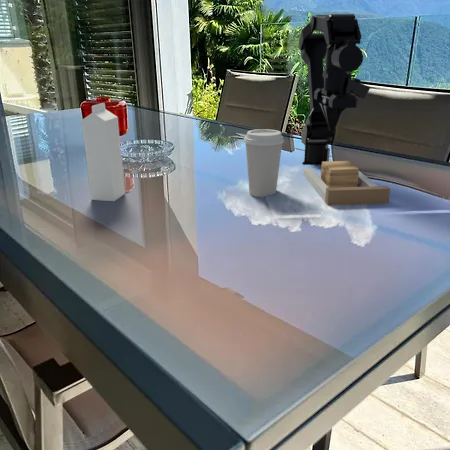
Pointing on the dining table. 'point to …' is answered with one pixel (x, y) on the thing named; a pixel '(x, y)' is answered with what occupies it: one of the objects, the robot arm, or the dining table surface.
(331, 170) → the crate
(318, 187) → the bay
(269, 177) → the coffee cup
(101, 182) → the milk
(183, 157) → the dining table surface
